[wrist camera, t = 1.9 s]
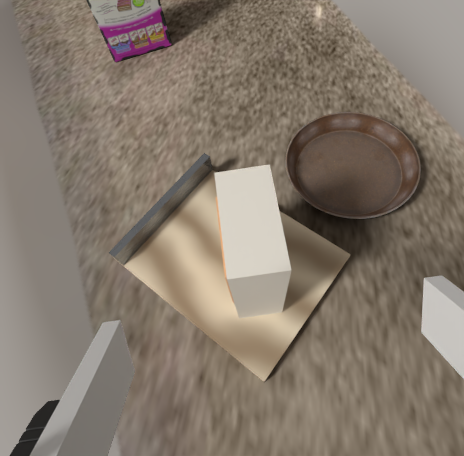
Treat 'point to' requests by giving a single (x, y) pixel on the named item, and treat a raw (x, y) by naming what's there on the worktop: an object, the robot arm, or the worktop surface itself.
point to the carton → (252, 241)
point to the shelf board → (215, 287)
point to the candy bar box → (131, 26)
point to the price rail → (161, 210)
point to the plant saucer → (353, 165)
